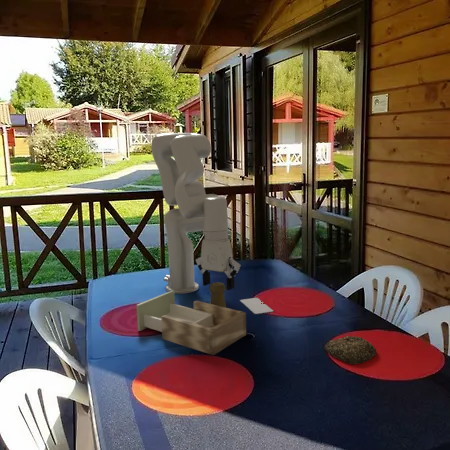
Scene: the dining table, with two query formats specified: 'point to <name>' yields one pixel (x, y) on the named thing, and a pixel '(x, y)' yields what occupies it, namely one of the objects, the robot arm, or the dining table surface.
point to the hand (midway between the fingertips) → (218, 286)
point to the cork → (217, 294)
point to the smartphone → (256, 306)
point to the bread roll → (351, 349)
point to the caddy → (206, 329)
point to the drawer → (168, 312)
